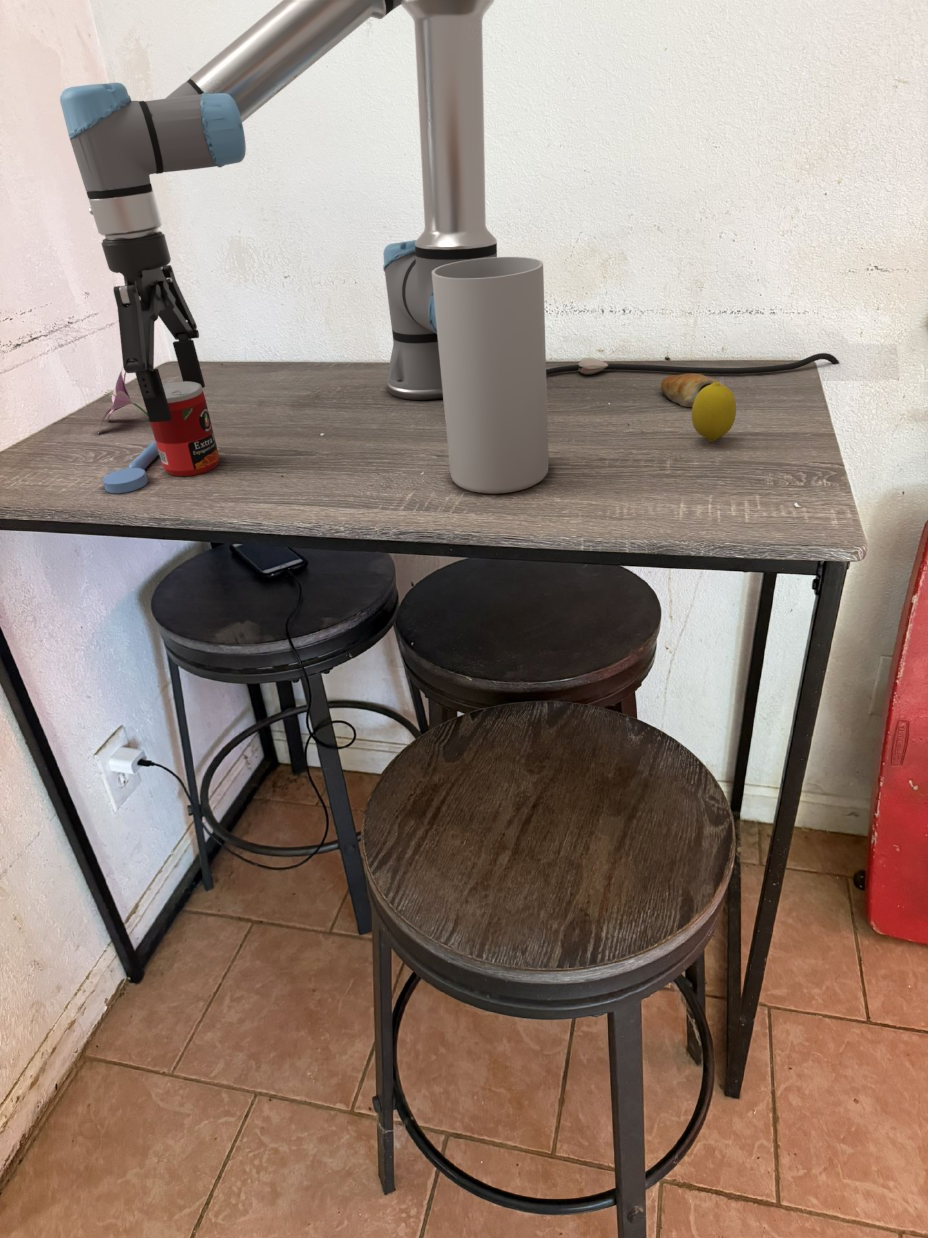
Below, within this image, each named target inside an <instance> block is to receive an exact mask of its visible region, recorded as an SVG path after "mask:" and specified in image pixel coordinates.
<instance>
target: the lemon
mask: <svg viewBox="0 0 928 1238" xmlns="http://www.w3.org/2000/svg"><path fill="white" fill-rule="evenodd" d="M736 415H737V403H736V398H735V395H734V393H733V392H732V390H731V389H730V388H729V387H727V386H726V385H724V384H721V383H720V381H717V382H713V383H712V384H711V385H708V386H706V387H704V388H703V389H702V390H701V391H700V392H699V393H698V394H697V396H696V398H695V400H694V403H693V407H691V421H692V426H693V428H694V430H695V431H696V432H697V433H698V434H699V435H700V436H701V437H703V438H705V439H706V440H707V441H708V442H709V443H712V442H713V443H714V442H715V441H716V440H717V439H718V438H722V437H724V436H725V435H727V433H729V431H730V430H731V429H732V428H733V426H734V422H735V420H736Z"/></svg>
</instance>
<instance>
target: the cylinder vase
mask: <svg viewBox="0 0 928 1238" xmlns="http://www.w3.org/2000/svg"><path fill="white" fill-rule="evenodd" d="M544 280H545V279H544V262H543V261H542V260H540V259H538V258H532V257H524V256H497V257H492V258H480V259H472V260H465V261H459V262H454V263H450V264H446V265H443V266H440V267H437V268H435V269H434V270H433V271H432V282H433V293H434V303H435V314H436V325H437V336H438V346H439V357H440V368H441V379H442V389H443V398H442V399H443V409H444V411H443V412H444V421H445V431H446V432H445V433H446V441H447V454H448V463H449V473H450V477H451V480H452V481H453V482H454V483H455V485H456V486H458V487H460V488H462V489H463V490H467V491H469V492H474V493H480V494H488V495H489V494H491V495H492V494H495V495H496V494H508V493H513V492H514V493H515V492H519V491H524V490H526V489H529V488H531V487H534V486H535V485H537V484H538V483H540V482H542V480H544V479H545V477H546V476H547V474H548V472H549V468H550V467H549V465H550V464H549V438H548V437H549V431H548V393H547V392H548V391H547V390H548V389H547V375H546V369H547V358H546V357H547V355H546V354H547V353H546V350H547V349H546V320H545V319H546V318H545V317H546V316H545V315H546V314H545V312H546V311H545V281H544Z"/></svg>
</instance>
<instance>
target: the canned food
mask: <svg viewBox="0 0 928 1238" xmlns="http://www.w3.org/2000/svg"><path fill="white" fill-rule="evenodd" d="M162 385H163V388H164V392H165V395H166V399H167V402H168V406H169V409H170V413H171V416H172V420H171V421H162V422H150V421H149V424H150V427H151V431H152V434H153V437H154V440H155V441H156V444H157V448H158V451H159V455H158V456H159V458H160V461H161V464H162V467H163V469H164V471H165V472H166V473H167V474H168V475H171V476H174V477H191V476H197V475H201V474H204V473H207V472H210V471H212V470H213V469H215V468H216V467H217V466H218V465H219V463H220V455H219V450H218V445H217V441H216V437H215V434H214V428H213V425H212V420H211V417H210V412H209V408H208V403H207V399H206V396H205V393H204V388H202V386H201V384H199V383H195V382H183V381H173V382H166V383H162Z"/></svg>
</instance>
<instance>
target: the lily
mask: <svg viewBox="0 0 928 1238" xmlns="http://www.w3.org/2000/svg"><path fill="white" fill-rule="evenodd" d="M123 370H124V367H123V366H121V371H120V372H119V375H118V377H117V379H116V382H115V388H114V389H113V391H112V390H111V389H110V390H109V389H107V391H105V394H103V395H104V396H107V397H109V396H111V402H112V405H111V406H110V407H109V408H108V409H107V411H106V412H105V414H104V416H103V417H102V420H101V423H100V426H99V428H98V434H100V431H101V428H102V425H103V423H104V421H105V419H106V417H107V421H109V419H110V417H111V414H112V413H113V412H115V411H117V410H119V409H122V408H124V407H126V406H128V405H133V406H134V407H136V408H138V409H139V410H141V411H142V413H144V414H145V415H146V416H147V417H148V414H147V410H145V409H144V408H143V407H141V406H140V405H138V403H136V402H134V401H133V400H132V398H131V396H130V394H129V392H128V389H127V386H126V376H127V372H126V371H125V370H124V374H123V372H122V371H123ZM107 415H108V416H107Z"/></svg>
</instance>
